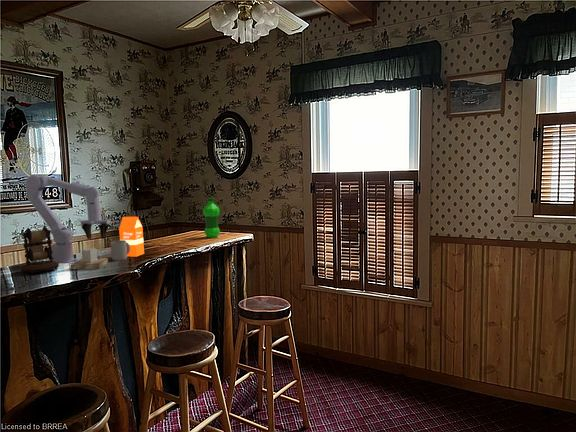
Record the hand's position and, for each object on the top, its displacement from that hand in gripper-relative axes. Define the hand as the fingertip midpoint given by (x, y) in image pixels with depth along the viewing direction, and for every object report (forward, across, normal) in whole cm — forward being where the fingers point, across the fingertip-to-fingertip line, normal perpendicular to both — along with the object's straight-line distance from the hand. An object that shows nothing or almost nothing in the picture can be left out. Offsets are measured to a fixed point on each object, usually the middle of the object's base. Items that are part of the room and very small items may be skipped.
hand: (96, 238), depth 212 cm
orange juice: (+11, +13, +11) cm, 20 cm away
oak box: (+11, +6, -15) cm, 20 cm away
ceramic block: (+8, +6, -15) cm, 18 cm away
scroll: (+10, -12, -25) cm, 29 cm away
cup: (+11, +12, +2) cm, 16 cm away
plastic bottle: (+11, +38, +65) cm, 76 cm away
